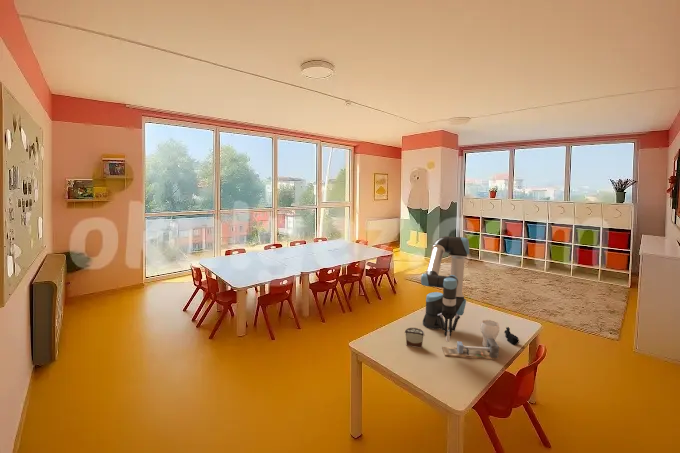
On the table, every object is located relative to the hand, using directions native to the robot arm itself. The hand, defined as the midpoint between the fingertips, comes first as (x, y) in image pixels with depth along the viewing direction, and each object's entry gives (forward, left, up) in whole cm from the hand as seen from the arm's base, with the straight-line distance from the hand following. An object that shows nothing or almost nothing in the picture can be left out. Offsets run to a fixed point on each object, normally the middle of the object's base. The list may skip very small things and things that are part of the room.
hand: (447, 340), depth 194 cm
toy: (+25, +42, -8) cm, 49 cm away
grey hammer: (+14, +8, -6) cm, 17 cm away
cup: (+16, +25, -8) cm, 31 cm away
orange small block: (+18, +8, -6) cm, 20 cm away
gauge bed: (+11, +7, -7) cm, 15 cm away
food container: (-19, -5, -8) cm, 21 cm away
